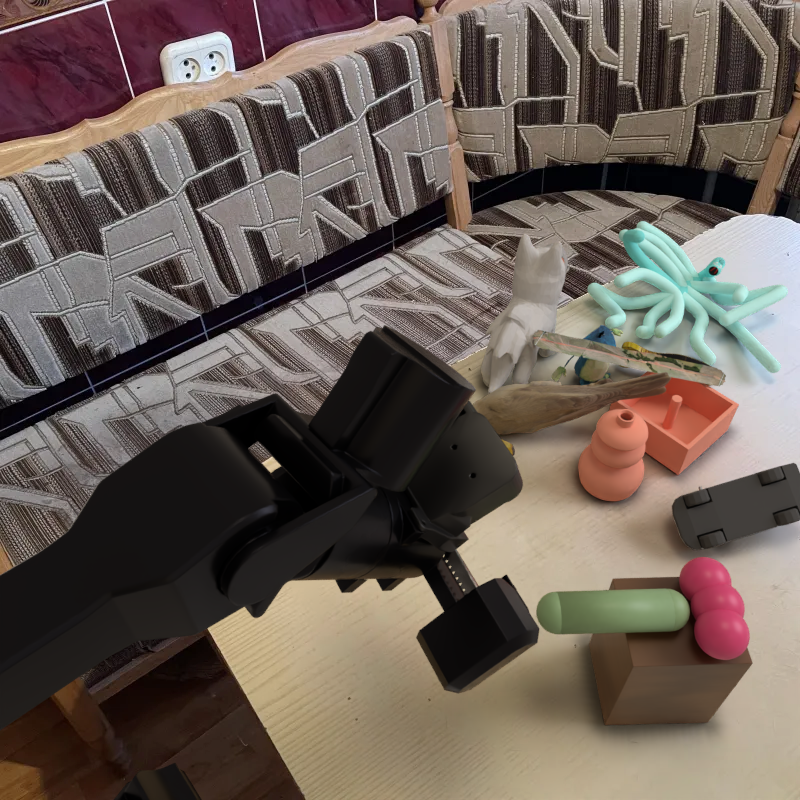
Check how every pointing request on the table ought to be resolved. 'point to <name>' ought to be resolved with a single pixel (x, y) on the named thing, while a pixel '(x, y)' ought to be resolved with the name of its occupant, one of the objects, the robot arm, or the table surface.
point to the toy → (525, 314)
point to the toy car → (738, 507)
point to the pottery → (652, 436)
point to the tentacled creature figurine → (684, 295)
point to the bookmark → (629, 358)
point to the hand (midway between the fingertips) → (474, 535)
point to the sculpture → (559, 401)
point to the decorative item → (674, 356)
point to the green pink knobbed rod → (658, 610)
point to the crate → (660, 670)
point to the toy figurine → (590, 367)
